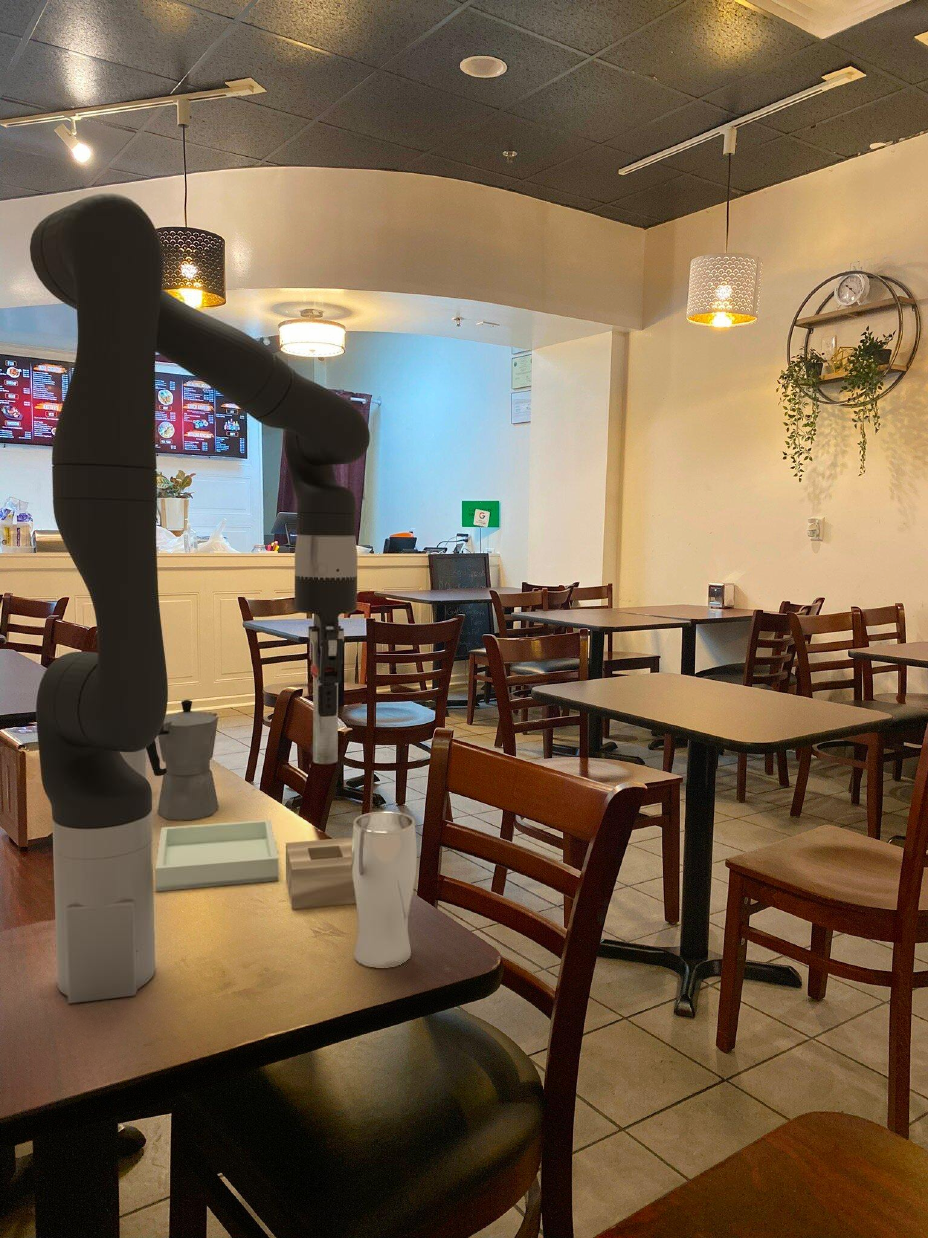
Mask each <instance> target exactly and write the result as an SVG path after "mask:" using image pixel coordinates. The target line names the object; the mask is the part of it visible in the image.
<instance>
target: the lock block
mask: <svg viewBox="0 0 928 1238" xmlns="http://www.w3.org/2000/svg"><path fill="white" fill-rule="evenodd" d="M351 848H352V837H344V838H342V837H341V838H329V839H317V840H304V841H292V842H291V841H290V842H285V882H286V886H287V887H286V888H287V891H288V892H287V893H288V896H289V901H290V907H291V910H302V909H310V908H321V907H322V908H323V907H331V906H332V907H333V906H341V905H342V906H343V905H350V904H351V905H352V904H356V900H355V895H354V889H353V882H352V873H351Z"/></svg>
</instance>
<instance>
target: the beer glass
mask: <svg viewBox="0 0 928 1238" xmlns="http://www.w3.org/2000/svg"><path fill="white" fill-rule="evenodd" d="M352 827H353V828H352V837H351V838H352V848H351V873H352V882H353V889H354V895H355V900H356V903H355V904H356V911H357V920H358V925H357V927H358V929H357V937H356V942H355V947H354V959H355V961H356V962H357V961H358V962H357V963H359V964H360V963H361V964H363V965H366V966H372V967H376V968H379V967H384V968H385V967H391V966H397V965H400V966H402V965H403V964H402V963H404V962H405V963H407V962H408V961H409V960H410V958H411V954H412V949H411V944H410V937H409V930H408V929H409V928H408V923H409V913H410V907H411V902H412V897H413V892H414V887H415V882H416V881H415V880H416V874H417V873H416V872H417V837H416V836H417V835H416V821H415V818H413V817H412V816H411V815H408V814H407V813H402V812H398V811H397V812H396V811H386V810H385V811H372V812H368V813H367V812H366V813H364V814H360V815H359V816H357V817H356V818H354V819H353V826H352ZM408 959H409V960H408ZM407 960H408V961H407ZM406 961H407V962H406ZM405 963H404V964H405ZM361 964H360V965H361ZM401 964H402V965H401ZM363 965H362V966H363ZM366 966H365V967H366ZM397 967H398V966H397Z"/></svg>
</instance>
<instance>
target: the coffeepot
mask: <svg viewBox="0 0 928 1238" xmlns="http://www.w3.org/2000/svg"><path fill="white" fill-rule="evenodd" d="M180 703H181V707H182V711H178V712H174V713H169V714H166V716H165V720H164V723H163V726H162V728H161V730H160V733H159V734H158V736H157V738H158V744H159V749H160V753H161V754H160V755H161V758H160V756H159V754H158V749H157V743H156V739H155V740H154V741H153V742H152V743H151V744H150V745H149V746H148V747H146V748H145V750H146V753H147V756H148V759H149V762H150V763H149V764H150V766H151V768H152V772H153V775H154V776H155V777H161V776H162V781H161V789H160V793H159V794H160V795H159V801H158V806H157V814H158V815H159V816H160V817H161V818H163V819H166V820H168V821H176V822H177V821H178V822H181V821H182V822H183V821H185V822H187V821H197V820H201V819H206V818H207V817H211V816H212V815H214V814H216V812H217V810H218V808H220V807H219V802H218V795H217V792H216V791H217V790H216V786H215V780H214V776H213V771H212V770H211V768H210V767H211V766H210V765H211V764H210V763H211V762H210V761H211V760H212V758H213V757H214V749H215V743H216V742H215V741H216V736H217V729H218V728H217V727H218V721H219V717H218V713H216V712H211V711H209V712H208V711H193V710H192V705H193V700H190V699H185V700H182V701H181V702H180ZM161 759H162V762H164V763H165V767H164V768H161V765H160V764H161Z"/></svg>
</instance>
